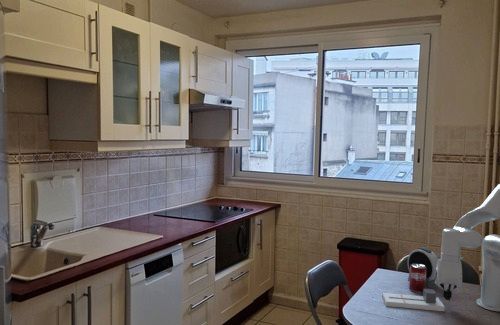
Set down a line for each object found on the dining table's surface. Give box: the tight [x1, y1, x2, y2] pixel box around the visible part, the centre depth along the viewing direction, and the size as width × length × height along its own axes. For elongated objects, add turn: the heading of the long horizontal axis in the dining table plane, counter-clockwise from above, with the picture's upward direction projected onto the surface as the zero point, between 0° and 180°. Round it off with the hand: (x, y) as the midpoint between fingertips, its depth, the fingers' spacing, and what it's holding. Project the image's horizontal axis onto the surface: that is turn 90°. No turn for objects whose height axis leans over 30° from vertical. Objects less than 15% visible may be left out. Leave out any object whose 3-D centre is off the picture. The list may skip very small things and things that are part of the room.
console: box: [381, 292, 446, 312], centre depth 182 cm, size 24×10×2 cm, turn 80°
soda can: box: [408, 264, 427, 294], centre depth 199 cm, size 7×7×12 cm
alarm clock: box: [406, 246, 439, 289], centre depth 208 cm, size 16×10×18 cm, turn 28°
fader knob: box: [422, 288, 437, 303], centre depth 181 cm, size 4×5×4 cm
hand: (446, 298), depth 180 cm, fingers closed
